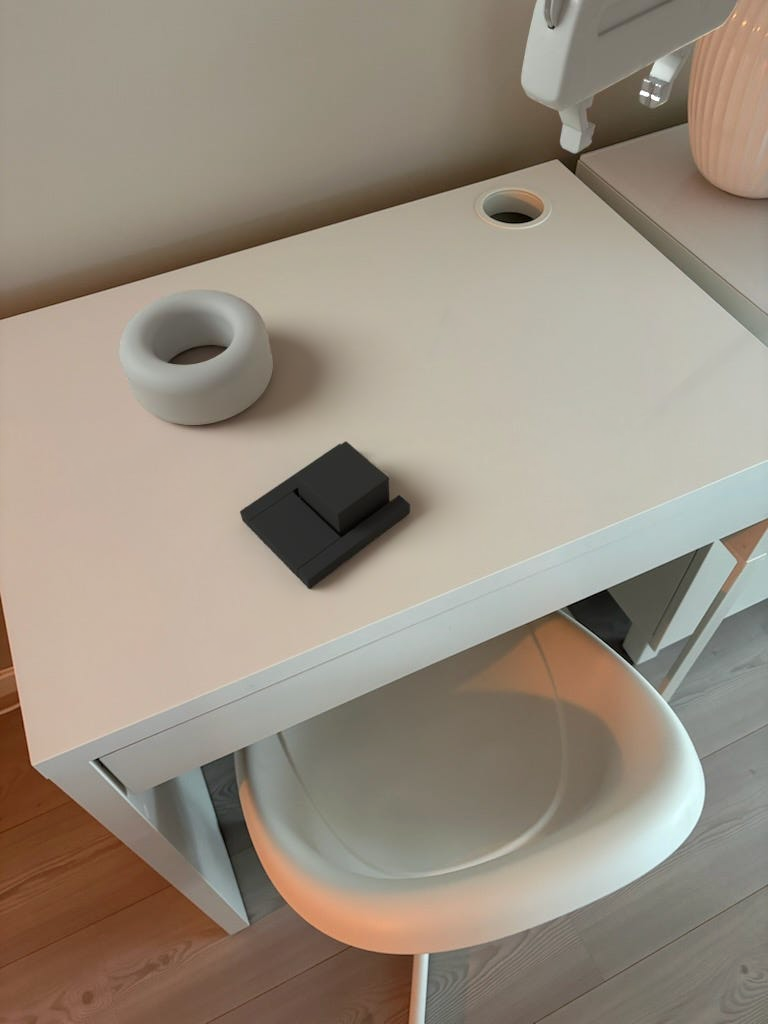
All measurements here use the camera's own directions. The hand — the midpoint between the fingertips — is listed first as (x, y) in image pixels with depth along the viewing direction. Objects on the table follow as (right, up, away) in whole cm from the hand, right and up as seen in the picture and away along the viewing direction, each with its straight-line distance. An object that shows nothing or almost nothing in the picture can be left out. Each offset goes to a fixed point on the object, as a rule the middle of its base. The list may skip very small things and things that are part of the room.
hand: (614, 124), depth 57 cm
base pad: (-23, -30, +12) cm, 40 cm away
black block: (-21, -29, +13) cm, 38 cm away
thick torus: (-37, -15, +24) cm, 46 cm away
